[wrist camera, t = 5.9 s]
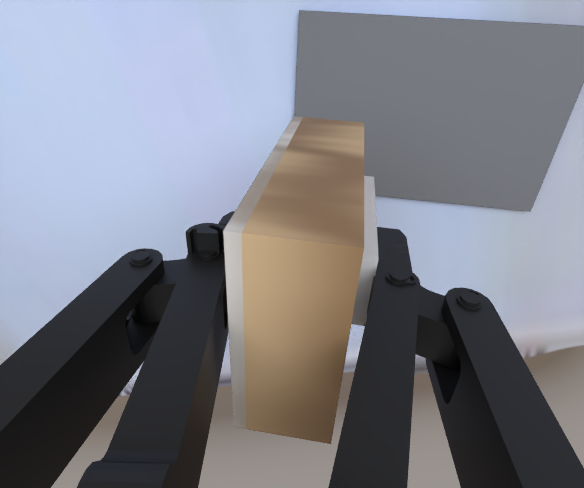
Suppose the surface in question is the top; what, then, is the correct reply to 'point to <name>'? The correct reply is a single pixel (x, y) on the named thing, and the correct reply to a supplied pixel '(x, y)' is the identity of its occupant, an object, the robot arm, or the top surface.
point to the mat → (444, 100)
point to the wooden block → (296, 279)
